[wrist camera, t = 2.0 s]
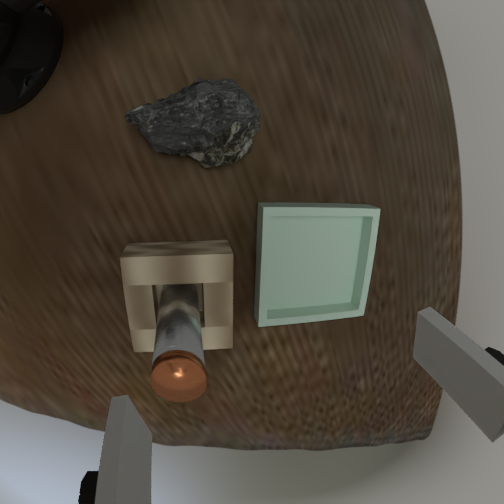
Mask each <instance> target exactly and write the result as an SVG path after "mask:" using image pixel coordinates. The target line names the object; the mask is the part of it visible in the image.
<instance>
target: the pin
mask: <svg viewBox="0 0 504 504" xmlns="http://www.w3.org/2000/svg"><path fill="white" fill-rule="evenodd" d="M151 385H152V388H153V390H154V391H155V392H156V393H157V394H158V395H159V396H161V397H162V398H164V399H166V400H169V401H173V402H187V401H191V400H194V399H196V398H198V397H199V396H200V395H201V394H202V393H203V392H204V391H205V389H206V386H207V379H206V371H205V362H204V353H203V344H202V334H201V324H200V314H199V303H198V291H197V286H196V284H195V283H192V284H164V285H163V286H162V290H161V297H160V304H159V311H158V319H157V327H156V335H155V343H154V352H153V362H152V372H151Z"/></svg>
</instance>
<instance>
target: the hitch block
mask: <svg viewBox="0 0 504 504" xmlns="http://www.w3.org/2000/svg"><path fill="white" fill-rule="evenodd" d="M120 265H121V273H122V281H123V289H124V296H125V303H126V309H127V315H128V321H129V327H130V333H131V338H132V344H133V349H134V352H154V343H155V335H156V327H157V319H158V311H159V304H160V297H161V290H162V286H163V285H164V284H192V283H195V284H196V286H197V291H198V303H199V314H200V324H201V334H202V344H203V350H209V349H225V348H233V252H232V249H231V247H230V245H229V242H228V240H208V241H177V242H149V243H128V244H127V245H126V247H125V249H124V251H123V253H122V254H121V256H120Z"/></svg>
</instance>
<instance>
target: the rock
mask: <svg viewBox="0 0 504 504" xmlns="http://www.w3.org/2000/svg"><path fill="white" fill-rule="evenodd" d="M125 119H126V121H127V122H128V123H131V124H132V125H133V126H136V127H138V129H139V131H140V132H141V133H142V135H143V136H144V137H145V138H146V139H147V140H148V141H149V142H150V144H151V146H152V147H153V149H154V150H155V151H156V152H159V153H161V152H164V153H167V154H180V155H181V156H187V155H189V156H191V157H192V158H194V159H196V160H198V161H199V163H200V164H201V165H202V166H203V167H205V168H210V167H216V166H218V165H221V166H223V165H224V164H226V163H230V164H235V163H237V162H238V161H239V160H240V159H241V158H242V156H243V155H244V154H246V153H249V152H250V150H251V147H252V145H253V143H252V139H253V137H254V135H255V134H256V133H257V132H258V131H259V128H260V124H259V122H260V120H261V117H260V113H259V109H258V108H257V106H256V104H255V102H254V101H253V100H252V99H251V98H250V97H249V95H248V94H247V93H246V92H244V91H243V89H241V88H240V87H239V86H238V84H237V82H236V81H235V80H233V79H221V80H214V81H208V80H202V79H197V80H195V81H194V82H193V84H192V85H191V86H189V87H185V88H182V89H181V91H180V92H178V93H174V94H171V95H170V96H169V97H168V98H166V99H158V100H157V102H156V103H155V104H149V103H148V104H145V105H143V106H139V107H136V108H133V109H131V110H130V111H127V113H126V114H125Z"/></svg>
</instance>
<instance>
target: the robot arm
mask: <svg viewBox="0 0 504 504" xmlns="http://www.w3.org/2000/svg"><path fill="white" fill-rule="evenodd" d="M41 1H42V0H0V114H4V113H8V112H11V111H14V110H16V109H18V108H20V107H22V106H23V105H25V104H26V103H27V102H29V101H30V100H31V99H32V98H33V97H34V96H35V95H36V94H37V93H38V92H39V91H40V90H41V89H42V88H43V86H44V85H45V84H46V82H47V81H48V79H49V78H50V76H51V74H52V73H53V71H54V69H55V67H56V64H57V62H58V59H59V56H60V53H61V49H62V42H63V31H62V25H61V22H60V20H59V18H58V16H57V15H56V14H55V13H54V12H53V11H52V10H51V9H50V8H49V7H48V6H47V5H45V4H43V3H41ZM413 358H414V359H415V360H416V361H417V362H418V363H419V364H420V365H421V366H422V367H423V368H424V369H425V370H426V371H427V372H428V373H429V374H430V375H431V377H432V378H433V379H434V380H435V381H436V382H437V383H438V384H439V385H440V386H441V387H442V388H443V389H444V390H445V391H446V392H447V393H448V395H449V396H450V397H451V398H452V399H453V400H454V401H455V402H456V403H457V404H458V405H459V406H460V407H461V408H462V410H463V411H464V412H465V413H466V414H467V415H468V416H469V417H470V418H471V419H472V420H473V421H474V423H475V424H476V425H477V426H478V427H479V428H480V429H481V430H482V431H483V433H484V434H485V435H486V436H487V437H488V438H489V439H490V440H491V441H492V442H494V441H495V440H496V439H498V438H499V437H500V436H501V435H503V434H504V355H503V354H502V353H501V352H500V351H498V350H495V349H493V348H490V347H488V348H486V349H485V350H484V349H483V348H482V347H480V346H479V345H478V344H477V343H475V342H474V341H473V340H472V339H470V338H469V337H468V336H467V335H465V334H464V333H463V332H462V331H460V330H459V329H458V328H457V327H455V326H454V325H453V324H452V323H450V322H449V321H448V320H446V319H445V318H444V317H443V316H441V315H440V314H439V313H437V312H436V311H435V310H433V309H432V308H431V307H428V308H426V309H424V310H422V311H419V312H418V315H417V325H416V335H415V343H414V351H413ZM151 454H152V433H151V432H150V430H149V429H148V427H147V426H146V424H145V423H144V421H143V419H142V418H141V416H140V415H139V413H138V411H137V410H136V408H135V406H134V405H133V403H132V401H131V400H130V398H129V396H128V395H124V396H117V397H112V398H111V403H110V408H109V413H108V419H107V424H106V429H105V435H104V441H103V447H102V453H101V459H100V466H99V471H87V473H86V475H85V477H84V478H83V480H82V481H81V487H80V495H79V500H78V502H79V504H151V456H152V455H151Z"/></svg>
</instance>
